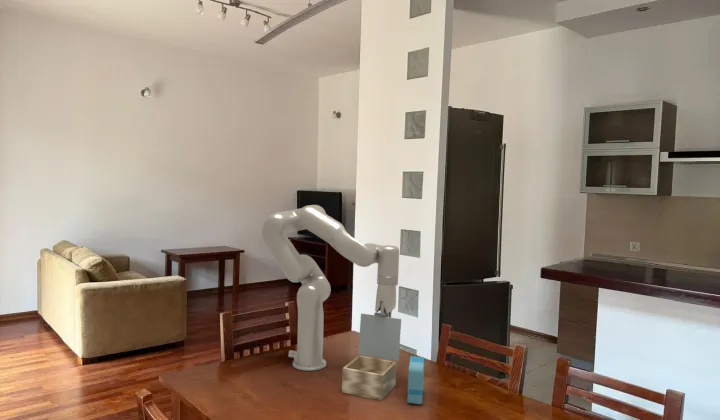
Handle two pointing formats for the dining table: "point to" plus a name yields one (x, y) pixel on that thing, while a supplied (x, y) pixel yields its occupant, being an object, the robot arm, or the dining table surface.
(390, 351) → the box lid
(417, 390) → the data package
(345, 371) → the open box
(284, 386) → the dining table surface
